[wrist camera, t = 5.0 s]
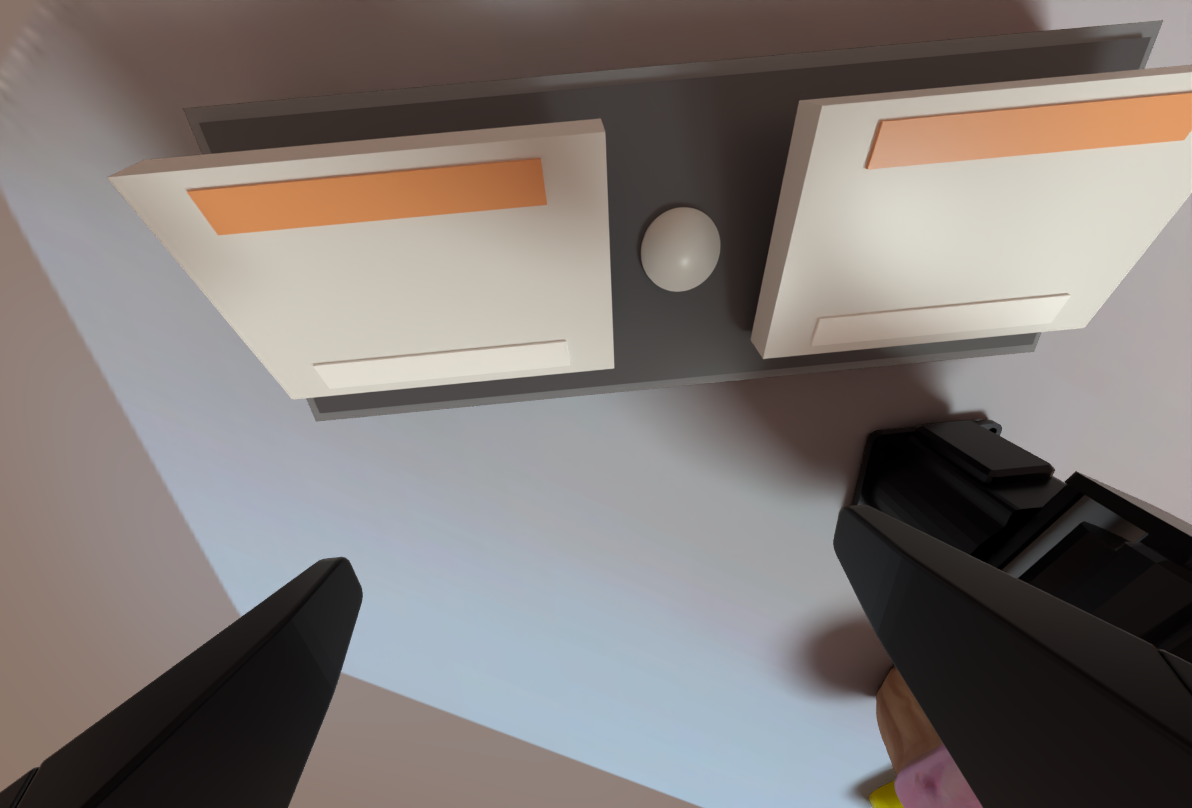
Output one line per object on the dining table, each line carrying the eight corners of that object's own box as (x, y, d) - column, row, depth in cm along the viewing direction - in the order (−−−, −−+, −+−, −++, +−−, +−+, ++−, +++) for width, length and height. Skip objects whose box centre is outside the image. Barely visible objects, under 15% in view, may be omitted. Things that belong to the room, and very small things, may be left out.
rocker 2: (1052, 310, 15) (1087, 329, 14) (750, 339, 15) (764, 360, 14) (1231, 60, 11) (1300, 62, 10) (799, 100, 10) (824, 106, 9)
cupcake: (991, 653, 30) (1171, 848, 21) (918, 722, 33) (1045, 914, 24) (887, 635, 28) (1033, 835, 19) (821, 709, 32) (919, 908, 23)
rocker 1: (610, 346, 15) (614, 370, 14) (306, 375, 15) (291, 401, 14) (600, 118, 10) (605, 132, 9) (143, 160, 10) (102, 178, 9)
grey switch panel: (968, 330, 19) (1044, 355, 16) (352, 389, 19) (310, 426, 16) (1055, 53, 15) (1181, 14, 12) (255, 125, 14) (170, 105, 11)
